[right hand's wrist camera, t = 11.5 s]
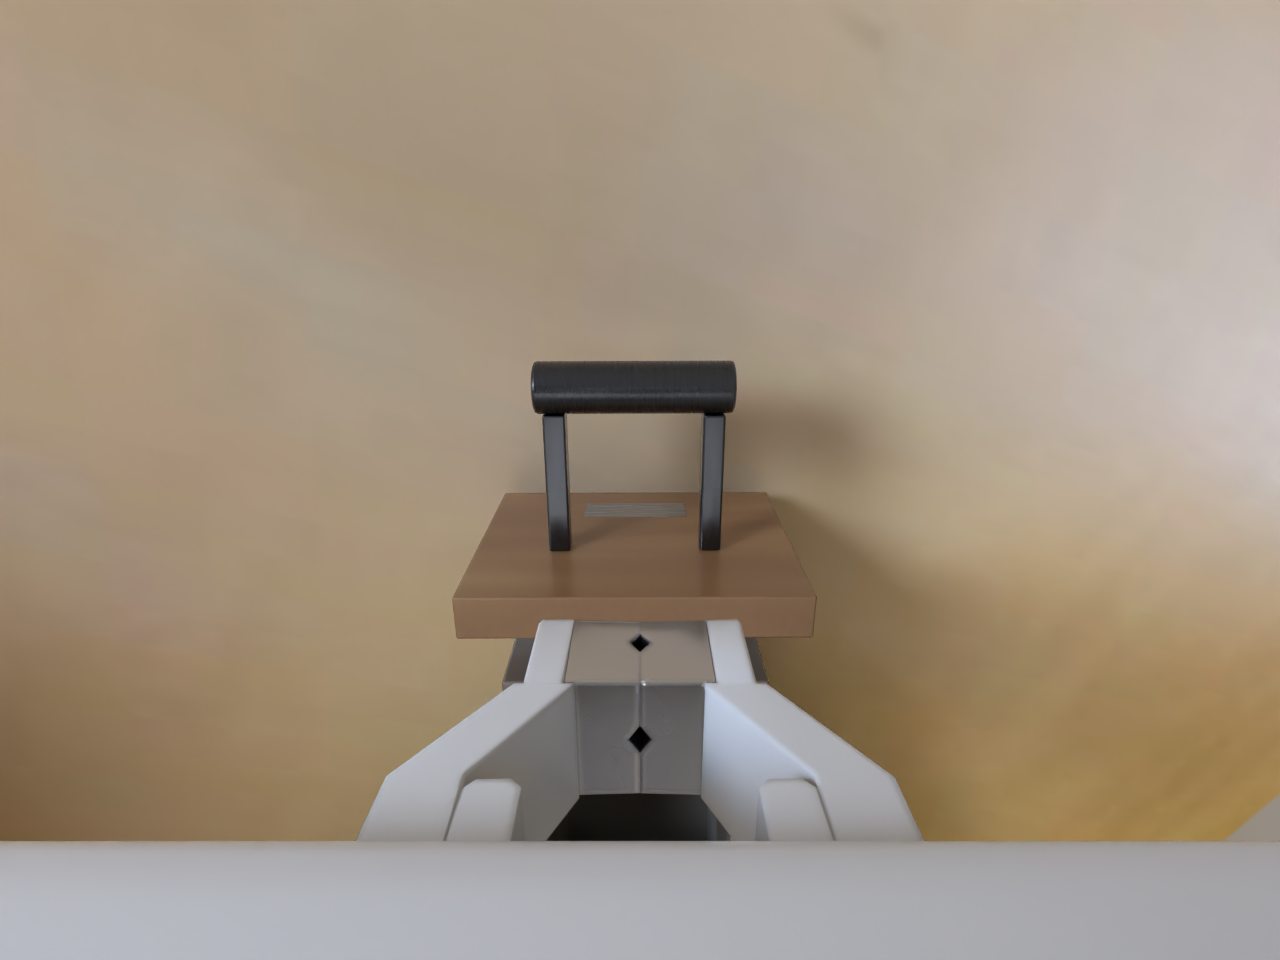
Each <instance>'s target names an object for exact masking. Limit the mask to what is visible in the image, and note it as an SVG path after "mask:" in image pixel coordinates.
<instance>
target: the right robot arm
mask: <svg viewBox="0 0 1280 960" xmlns="http://www.w3.org/2000/svg"><path fill="white" fill-rule="evenodd" d="M625 793H654V794H689V795H701V798H702V800H703V801H704V802H705V804H706V805H707V806H708V807H709V809H710V810H711V811H712V813H713V814H714V815H715V816H716V818H717V819H718V820H719V822H720V823H721V824H722V825H723V827H724V828H725V829H726V831H727V832H728V833H729V834H730V836H731V837H732V838H733V840H734V841H546V840H547V839H548V838H549V836H550V835H551V834H552V832H553V831H554V830H555V829H556V827H557V826H558V825H559V823H560V822H561V821H562V820H563V818H564V817H565V816H566V814H567V813H568V812H569V811H570V809H571V808H572V807H573V805H574V804H575V803H576V802H577V800H578V799H579V795H590V794H625ZM0 960H1280V841H924V839H923V837H922V835H921V833H920V831H919V828H918V826H917V824H916V822H915V820H914V818H913V816H912V813H911V811H910V809H909V807H908V805H907V803H906V800H905V798H904V796H903V794H902V792H901V790H900V788H899V785H898V783H897V781H896V779H895V777H894V776H892V775H891V774H890V773H888V772H887V771H886V770H884V769H883V768H882V767H880V766H879V765H877V764H876V763H875V762H873V761H872V760H871V759H869V758H868V757H866V756H865V755H864V754H862V753H861V752H860V751H858V750H857V749H855V748H854V747H853V746H851V745H850V744H849V743H847V742H846V741H845V740H843V739H842V738H840V737H839V736H838V735H836V734H835V733H834V732H832V731H831V730H829V729H828V728H827V727H825V726H824V725H823V724H821V723H820V722H818V721H817V720H816V719H814V718H813V717H812V716H810V715H809V714H808V713H806V712H805V711H803V710H802V709H801V708H799V707H798V706H797V705H795V704H794V703H792V702H791V701H790V700H788V699H787V698H786V697H784V696H783V695H781V694H780V693H779V692H777V691H776V690H775V689H773V688H772V687H771V686H769V685H768V684H766V683H756V679H755V675H754V671H753V667H752V664H751V660H750V656H749V652H748V648H747V645H746V641H745V637H744V633H743V629H742V626H741V622H740V621H739V620H738V619H723V620H692V621H651V622H640V621H617V620H575V621H574V620H573V619H554V620H542V621H541V622H540V623H539V625H538V629H537V633H536V636H535V640H534V644H533V648H532V652H531V656H530V659H529V663H528V667H527V671H526V675H525V679H524V683H514V684H512V685H511V686H509V687H508V688H507V689H505V690H504V691H503V692H501V693H500V694H498V695H497V696H496V697H494V698H493V699H492V700H490V701H489V702H487V703H486V704H485V705H483V706H482V707H481V708H479V709H478V710H476V711H475V712H474V713H472V714H471V715H470V716H468V717H467V718H465V719H464V720H463V721H461V722H460V723H459V724H457V725H456V726H454V727H453V728H452V729H450V730H449V731H448V732H446V733H445V734H443V735H442V736H441V737H439V738H438V739H437V740H435V741H434V742H432V743H431V744H430V745H428V746H427V747H425V748H424V749H423V750H421V751H420V752H419V753H417V754H416V755H414V756H413V757H412V758H410V759H409V760H408V761H406V762H405V763H403V764H402V765H401V766H399V767H398V768H397V769H395V770H394V771H392V772H391V773H390V774H388V775H387V776H386V778H385V780H384V782H383V784H382V786H381V788H380V790H379V792H378V795H377V797H376V799H375V801H374V803H373V805H372V807H371V809H370V812H369V814H368V816H367V818H366V820H365V822H364V824H363V826H362V828H361V831H360V833H359V835H358V837H357V839H356V841H0Z"/></svg>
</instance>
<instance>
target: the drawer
mask: <svg viewBox="0 0 1280 960" xmlns="http://www.w3.org/2000/svg"><path fill="white" fill-rule="evenodd" d="M736 391H737V378H736V368H735V364H734V362H732V361H538V362H535V363H534V364H533V367H532V372H531V397H532V405H533V409H534V411H535V413H538V414H544V415H543V417H542V421H543V439H544V458H545V476H546V493H506V494H505V495H504V497H503V499H502V501H501V503H500V505H499V507H498V509H497V511H496V513H495V515H494V517H493V519H492V521H491V523H490V525H489V527H488V529H487V531H486V533H485V535H484V537H483V539H482V541H481V543H480V545H479V547H478V549H477V551H476V552H475V554H474V556H473V558H472V560H471V562H470V564H469V566H468V568H467V570H466V572H465V574H464V576H463V578H462V580H461V582H460V584H459V586H458V588H457V590H456V592H455V594H454V596H453V598H452V602H453V611H454V620H455V629H456V637H457V638H516V639H515V642H514V645H513V649H512V652H511V655H510V659H509V662H508V665H507V669H506V672H505V675H504V679H503V682H502V687H503V691H504V690H505V689H507V688H508V687H509V686H511V685H512V684H514V683H524V679H525V675H526V671H527V667H528V663H529V659H530V656H531V652H532V648H533V644H534V640H535V636H536V633H537V629H538V625H539V623H540V622H541V621H542V620H554V619H573V620H574V621H575V620H617V621H640V622H651V621H692V620H723V619H738V620H739V621H740V622H741V626H742V629H743V633H744V637H745V641H746V645H747V648H748V652H749V656H750V660H751V664H752V667H753V671H754V675H755V679H756V683H766V684H768V679H767V675H766V672H765V668H764V665H763V661H762V658H761V654H760V651H759V647H758V644H757V640H756V637H812V636H813V629H814V619H815V609H816V599H817V597H816V595H815V593H814V591H813V589H812V587H811V585H810V583H809V580H808V578H807V576H806V574H805V572H804V570H803V568H802V566H801V564H800V562H799V560H798V558H797V556H796V554H795V551H794V549H793V547H792V545H791V543H790V541H789V539H788V537H787V535H786V533H785V531H784V529H783V527H782V525H781V522H780V520H779V518H778V516H777V514H776V512H775V510H774V508H773V506H772V504H771V502H770V500H769V498H768V496H767V494H766V493H765V492H751V493H723V473H724V448H725V424H726V416H725V414H724V413H731V412H733V410H734V408H735V403H736ZM613 413H702V426H701V461H700V493H570V483H569V459H568V435H567V414H613ZM546 841H734V840H733V838H732V837H731V836H730V834H729V833H728V832H727V831H726V829H725V828H724V827H723V825H722V824H721V823H720V822H719V820H718V819H717V818H716V816H715V815H714V814H713V813H712V811H711V810H710V809H709V807H708V806H707V805H706V804H705V802H704V801H703V800H702V798H701V795H689V794H654V793H625V794H590V795H579V799H578V800H577V802H576V803H575V804H574V805H573V807H572V808H571V809H570V811H569V812H568V813H567V814H566V816H565V817H564V818H563V820H562V821H561V822H560V823H559V825H558V826H557V827H556V829H555V830H554V831H553V832H552V834H551V835H550V836H549V838H548V839H547V840H546Z"/></svg>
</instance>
